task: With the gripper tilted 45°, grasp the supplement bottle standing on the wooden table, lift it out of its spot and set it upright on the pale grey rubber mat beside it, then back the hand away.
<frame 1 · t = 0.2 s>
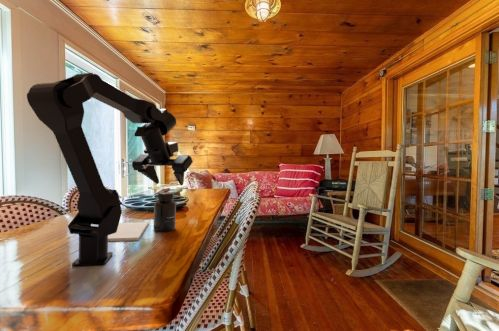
hand: (169, 183, 89), 15 cm above the table, tool tilted 35°, fingers open, 9 cm apart
pale grey mat: (123, 232, 83), on the table
supplement bottle: (164, 230, 88), on the table
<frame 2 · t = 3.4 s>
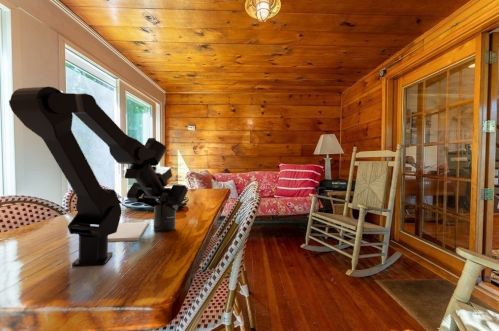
hand: (167, 208, 89), 7 cm above the table, tool tilted 45°, fingers closed on supplement bottle, 7 cm apart
supplement bottle: (164, 229, 88), on the table, touching gripper
when the fingers open (9 cm above the table, at t = 7.2 s): supplement bottle drops 1 cm, resting on pale grey mat.
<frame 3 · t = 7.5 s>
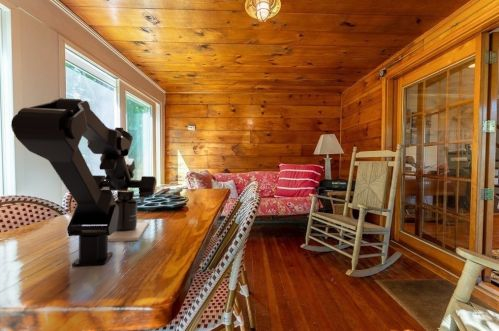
hand: (128, 201, 86), 9 cm above the table, tool tilted 45°, fingers open, 9 cm apart
supplement bottle: (125, 229, 84), point 1 cm above the table, touching pale grey mat
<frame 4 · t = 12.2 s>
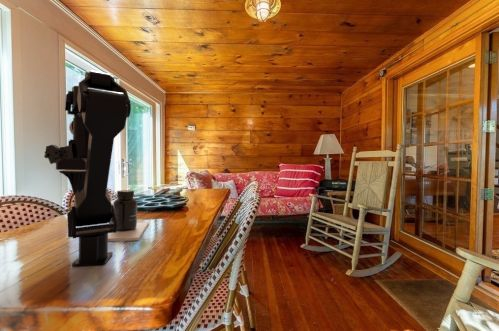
hand: (85, 195, 71), 13 cm above the table, tool pointing down, fingers open, 9 cm apart
nothing on the table moved.
at the end: supplement bottle inside the target area on the pale grey mat (0.4 cm from its centre), point 0.6 cm above the pale grey mat's base; supplement bottle tilted 0°; the gripper is holding nothing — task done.
